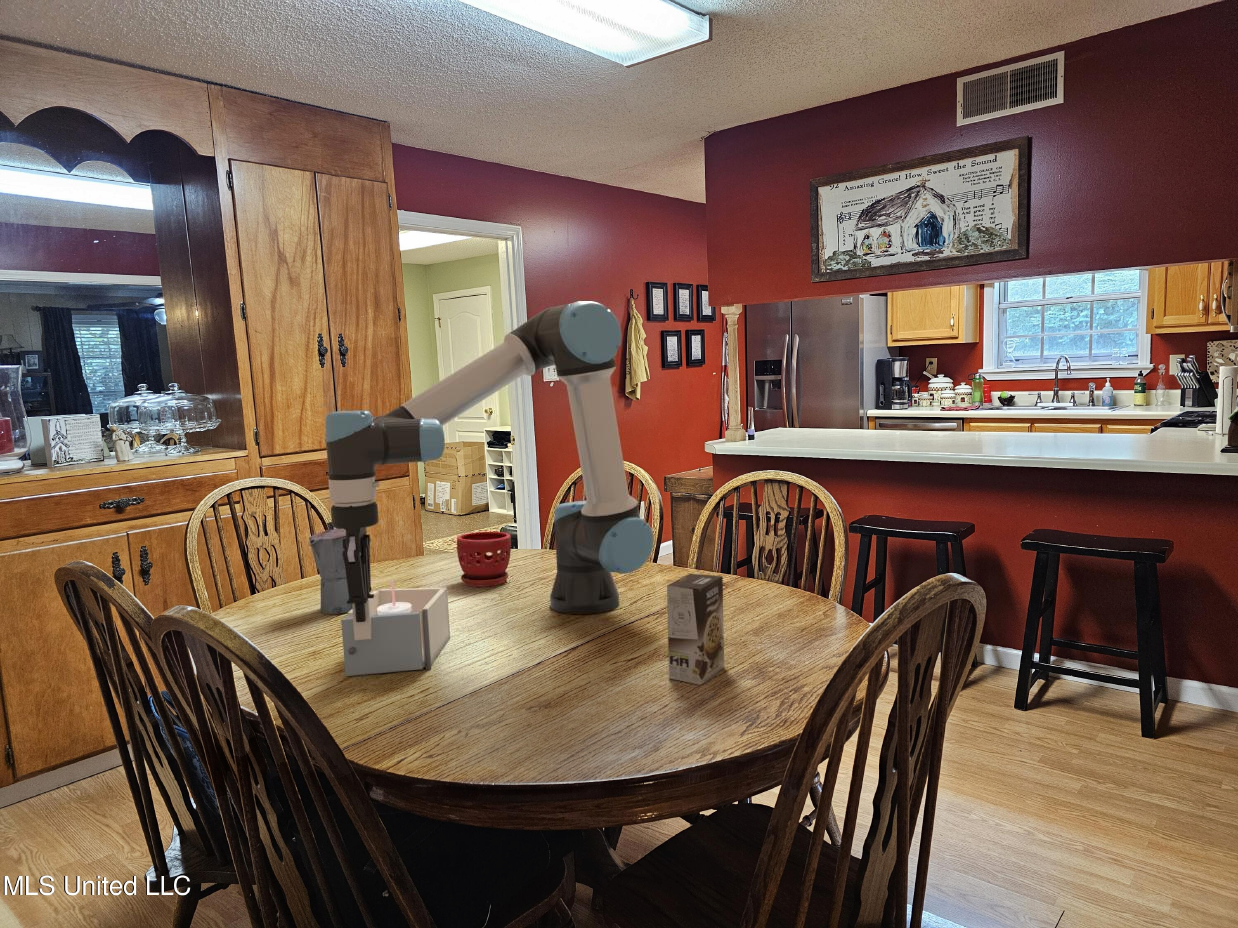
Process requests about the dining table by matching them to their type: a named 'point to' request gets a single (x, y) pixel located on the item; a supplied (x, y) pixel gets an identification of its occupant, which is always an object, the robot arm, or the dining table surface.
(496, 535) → the plant pot
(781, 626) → the dining table surface
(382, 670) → the door
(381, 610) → the beverage cup
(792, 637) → the dining table surface
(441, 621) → the cubby
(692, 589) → the coffee box
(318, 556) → the moka pot
